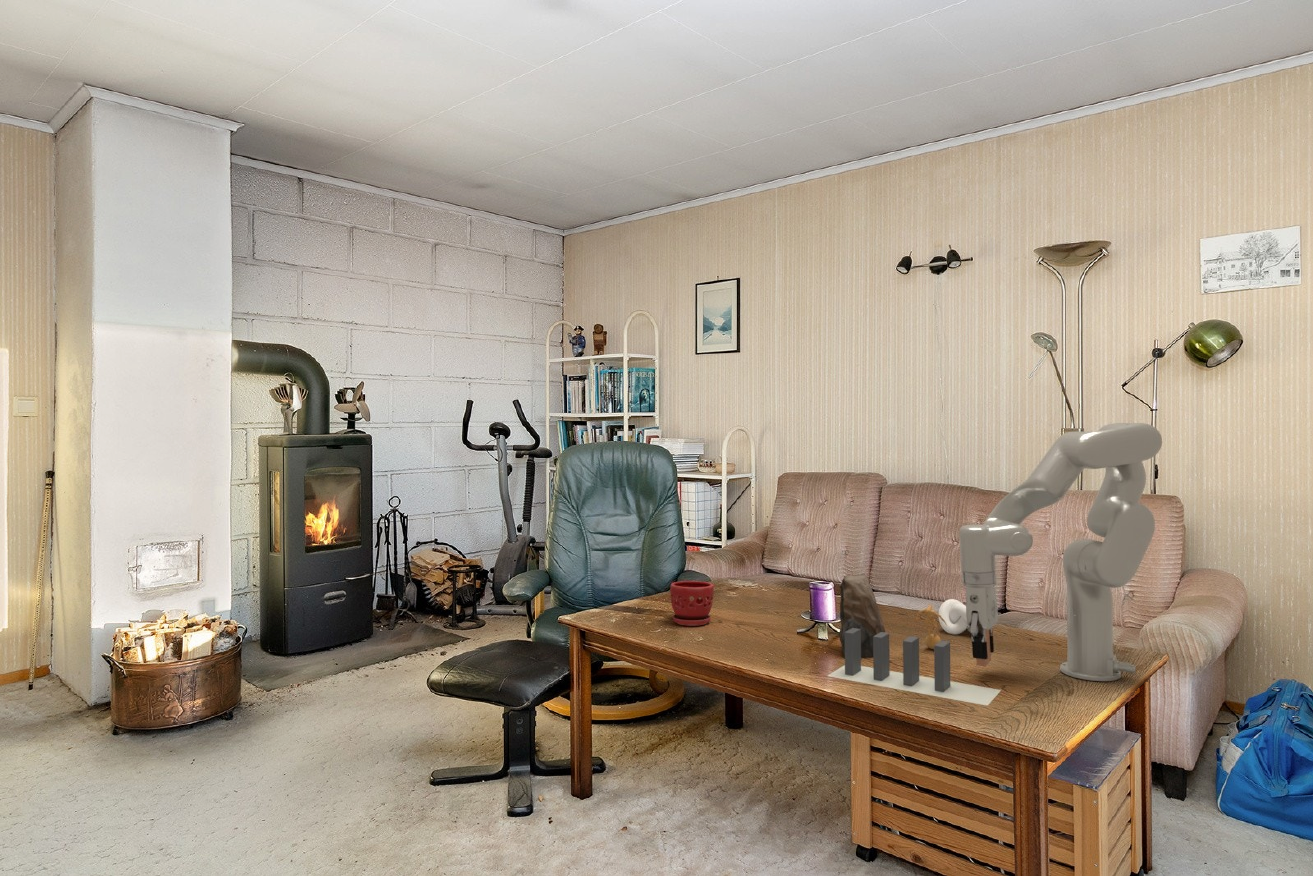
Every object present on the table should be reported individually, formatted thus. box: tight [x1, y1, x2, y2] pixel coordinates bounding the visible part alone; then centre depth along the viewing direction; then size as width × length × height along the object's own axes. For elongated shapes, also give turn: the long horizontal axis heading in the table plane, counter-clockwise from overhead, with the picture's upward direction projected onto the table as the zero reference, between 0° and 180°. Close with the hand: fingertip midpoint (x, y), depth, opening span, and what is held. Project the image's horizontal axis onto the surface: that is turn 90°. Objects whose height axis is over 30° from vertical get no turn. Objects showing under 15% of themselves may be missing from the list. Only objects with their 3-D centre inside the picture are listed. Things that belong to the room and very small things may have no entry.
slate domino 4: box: [933, 640, 951, 692], centre depth 179 cm, size 2×5×10 cm, turn 144°
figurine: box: [915, 604, 947, 650], centre depth 211 cm, size 8×6×12 cm
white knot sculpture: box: [937, 598, 971, 636], centre depth 228 cm, size 11×12×9 cm
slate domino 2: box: [872, 631, 891, 681], centre depth 187 cm, size 2×5×10 cm, turn 144°
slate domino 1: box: [844, 628, 862, 676], centre depth 191 cm, size 2×5×10 cm, turn 144°
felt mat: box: [827, 664, 1002, 707], centre depth 183 cm, size 36×12×1 cm, turn 54°
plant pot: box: [669, 580, 715, 627], centre depth 244 cm, size 13×13×12 cm
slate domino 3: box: [902, 635, 920, 686], centre depth 183 cm, size 2×5×10 cm, turn 144°
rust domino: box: [975, 625, 992, 667], centre depth 188 cm, size 2×5×10 cm, turn 144°
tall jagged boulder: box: [838, 572, 891, 659], centre depth 209 cm, size 13×13×20 cm
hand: (983, 654), depth 188 cm, fingers closed on rust domino, 4 cm apart
